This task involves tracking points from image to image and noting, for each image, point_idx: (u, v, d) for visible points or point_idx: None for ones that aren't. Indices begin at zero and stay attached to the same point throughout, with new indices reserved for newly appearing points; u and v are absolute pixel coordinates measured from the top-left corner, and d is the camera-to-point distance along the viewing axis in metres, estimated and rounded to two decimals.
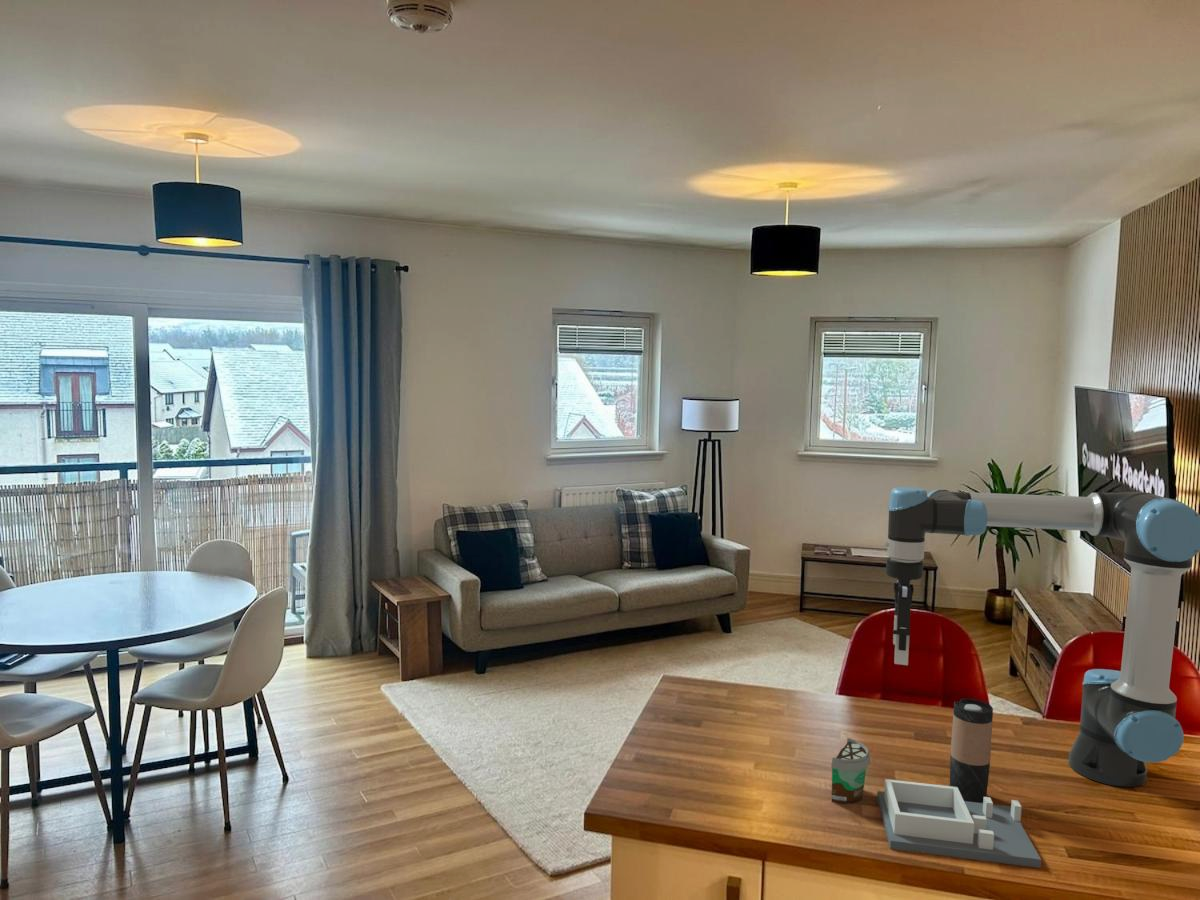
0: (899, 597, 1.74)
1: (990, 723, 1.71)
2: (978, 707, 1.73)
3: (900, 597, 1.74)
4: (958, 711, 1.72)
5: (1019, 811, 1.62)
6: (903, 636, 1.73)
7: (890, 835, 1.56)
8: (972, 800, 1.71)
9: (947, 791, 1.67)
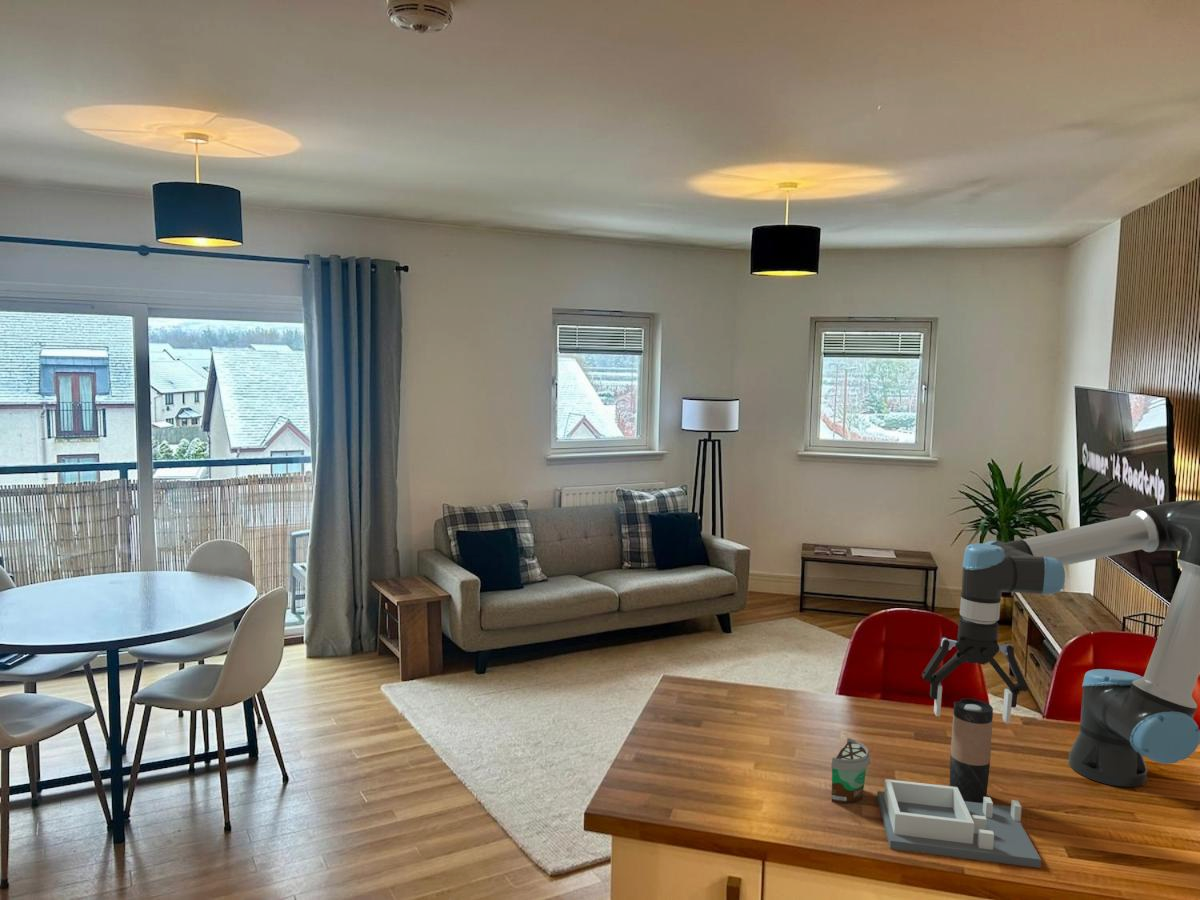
0: None
1: (990, 723, 1.71)
2: (978, 707, 1.73)
3: (940, 646, 1.74)
4: (958, 711, 1.72)
5: (1019, 811, 1.62)
6: (931, 683, 1.74)
7: (890, 835, 1.56)
8: (972, 800, 1.71)
9: (947, 791, 1.67)
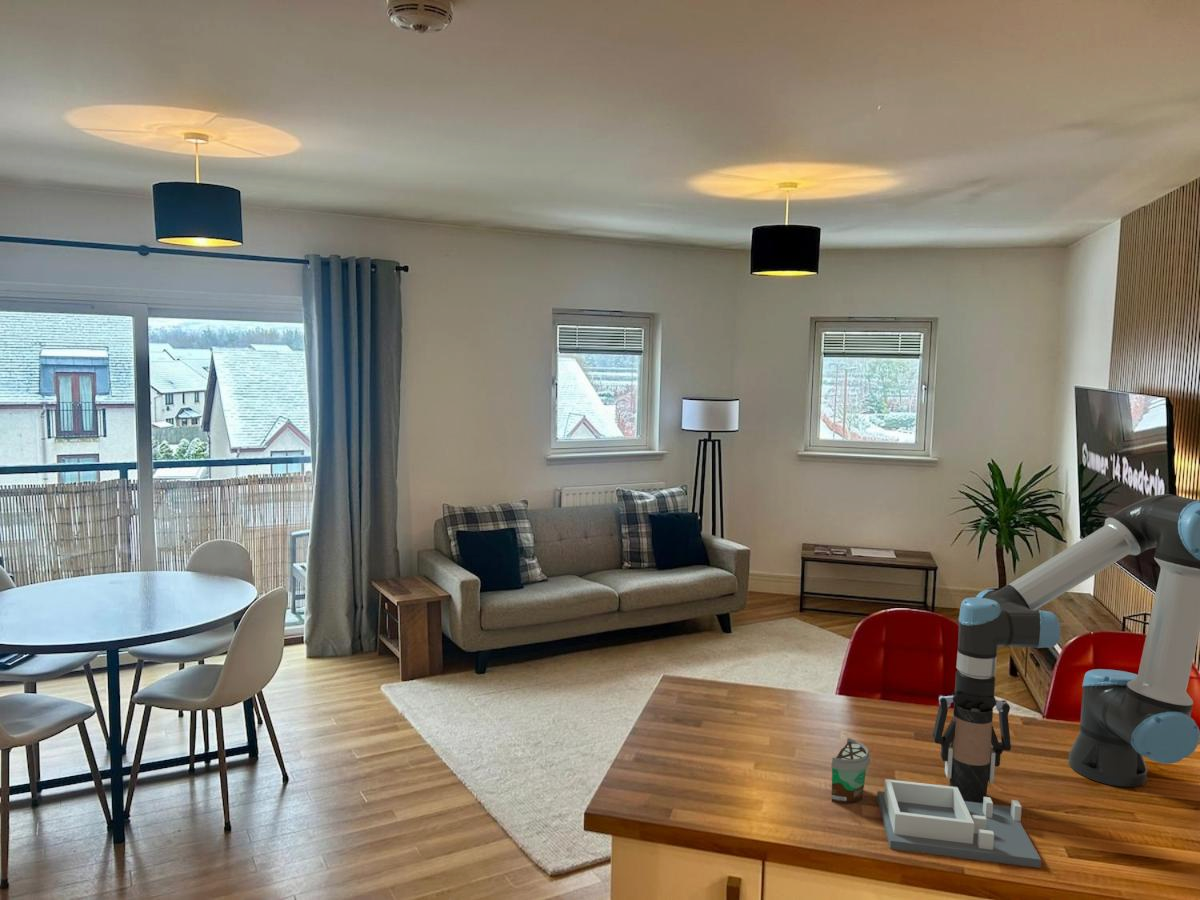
0: (939, 705, 1.75)
1: (990, 723, 1.71)
2: None
3: (939, 705, 1.75)
4: (958, 711, 1.72)
5: (1019, 811, 1.62)
6: (941, 745, 1.75)
7: (890, 835, 1.56)
8: (972, 800, 1.71)
9: (947, 791, 1.67)
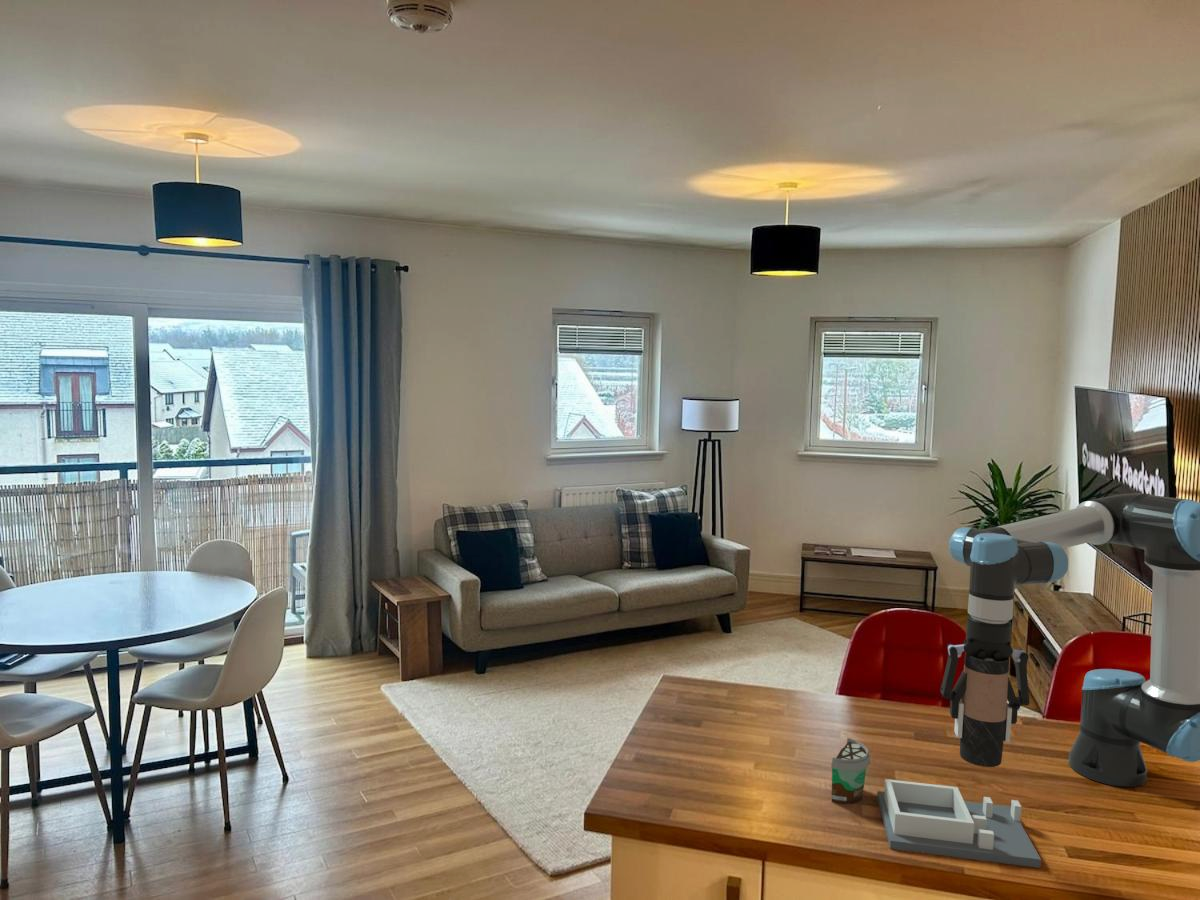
0: (948, 656, 1.55)
1: (1006, 674, 1.51)
2: None
3: (948, 655, 1.55)
4: (970, 661, 1.52)
5: (1019, 811, 1.62)
6: (951, 700, 1.55)
7: (890, 835, 1.56)
8: (986, 761, 1.51)
9: (947, 791, 1.67)
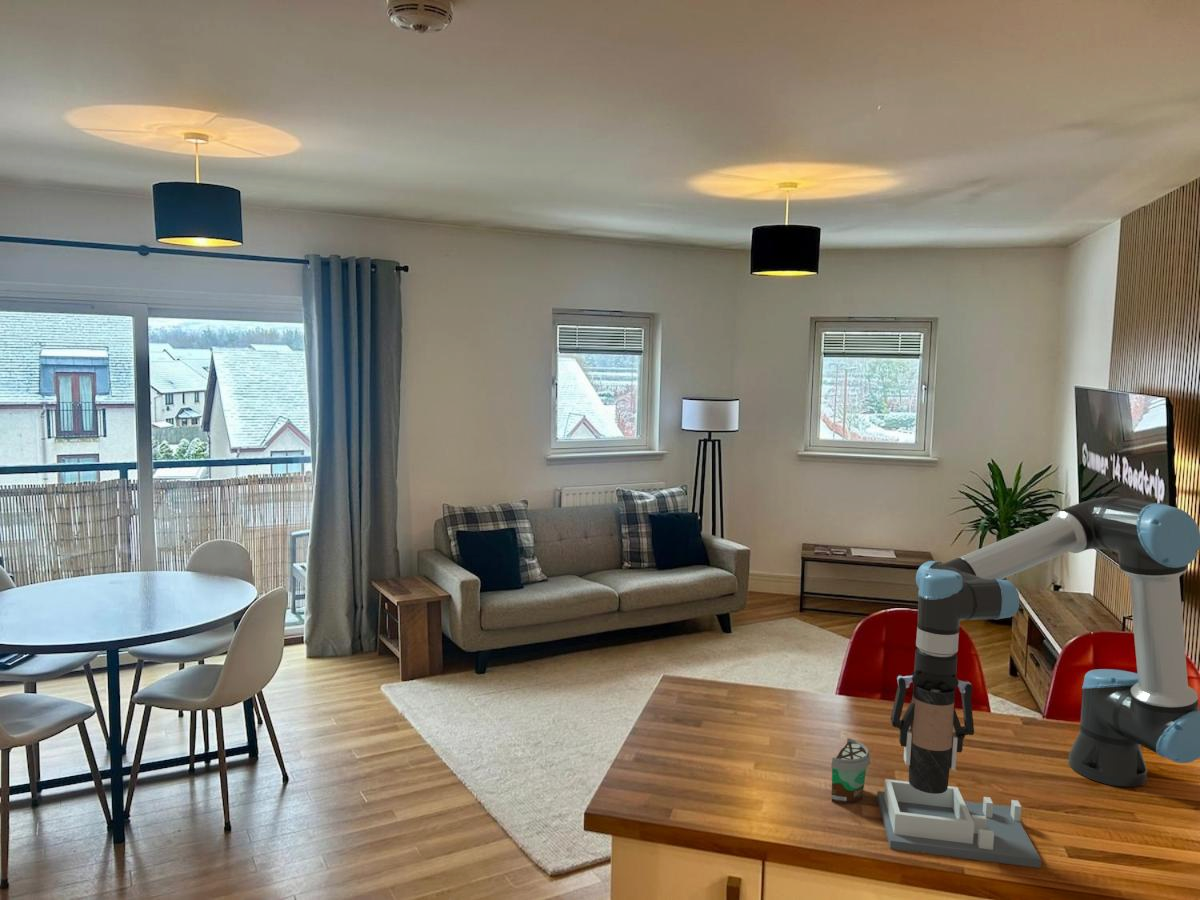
0: (898, 686, 1.62)
1: (951, 705, 1.57)
2: None
3: (898, 686, 1.62)
4: (917, 692, 1.59)
5: (1019, 811, 1.62)
6: (900, 729, 1.62)
7: (890, 835, 1.56)
8: (932, 788, 1.58)
9: (947, 791, 1.67)
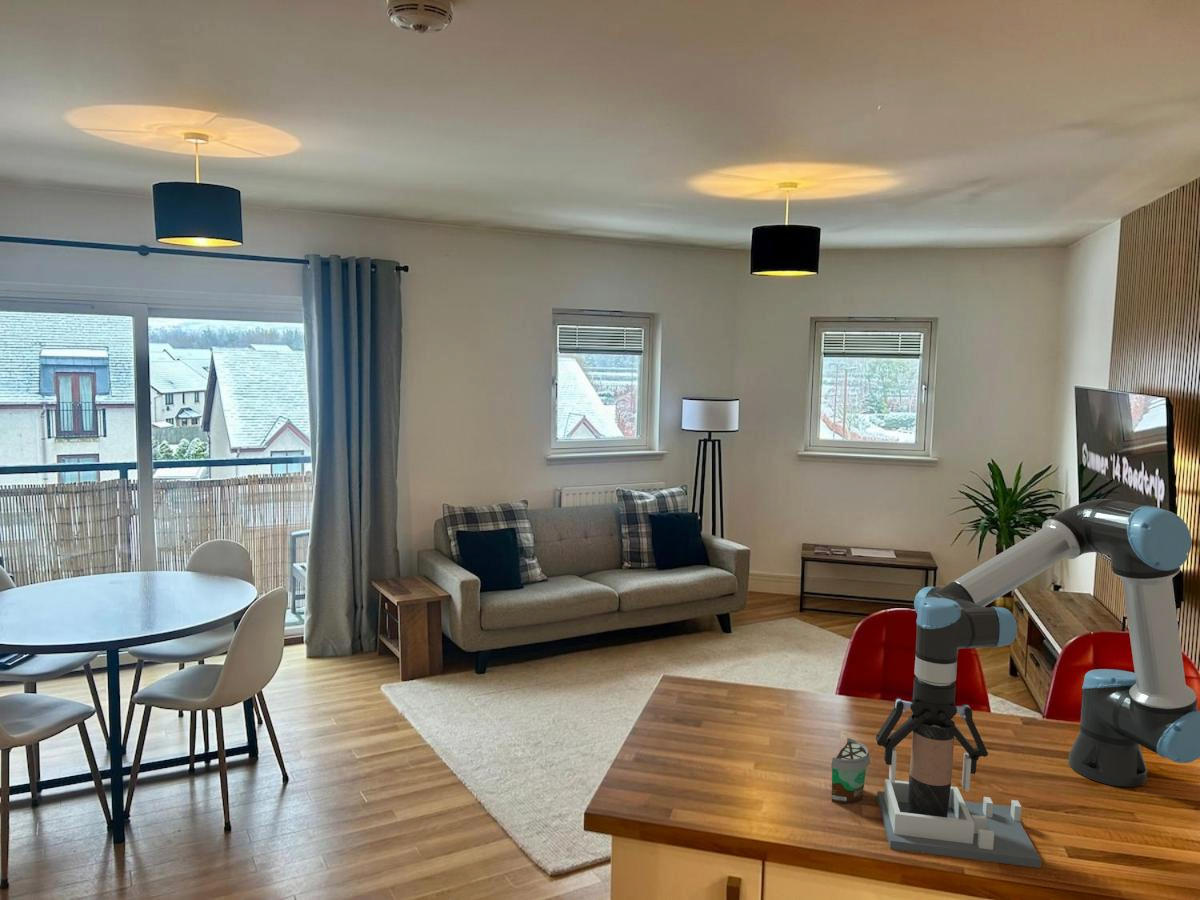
0: (894, 708, 1.63)
1: (951, 740, 1.58)
2: None
3: (894, 708, 1.62)
4: None
5: (1019, 811, 1.62)
6: (885, 747, 1.63)
7: (890, 835, 1.56)
8: None
9: None
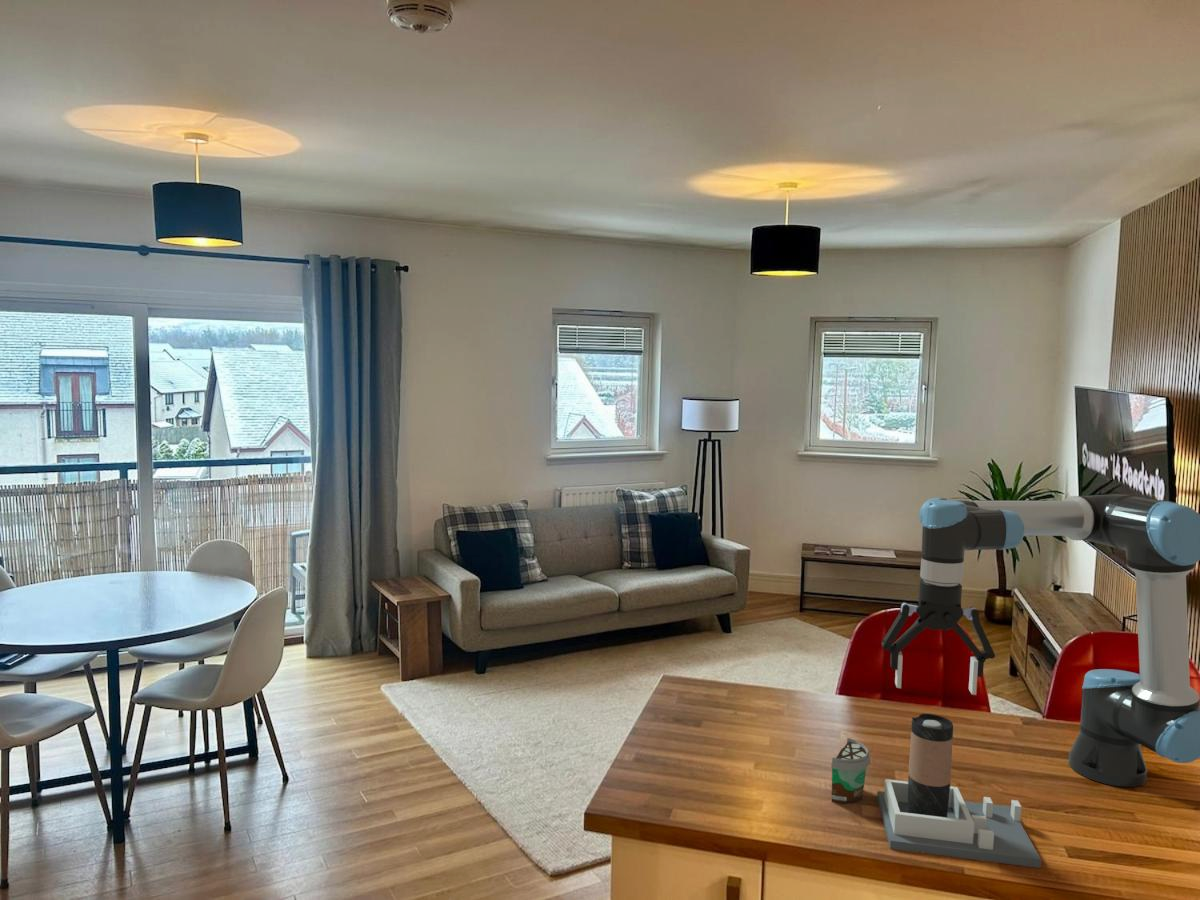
0: None
1: (950, 741, 1.58)
2: (937, 723, 1.60)
3: None
4: (915, 727, 1.60)
5: (1019, 811, 1.62)
6: (891, 652, 1.61)
7: (890, 835, 1.56)
8: None
9: None
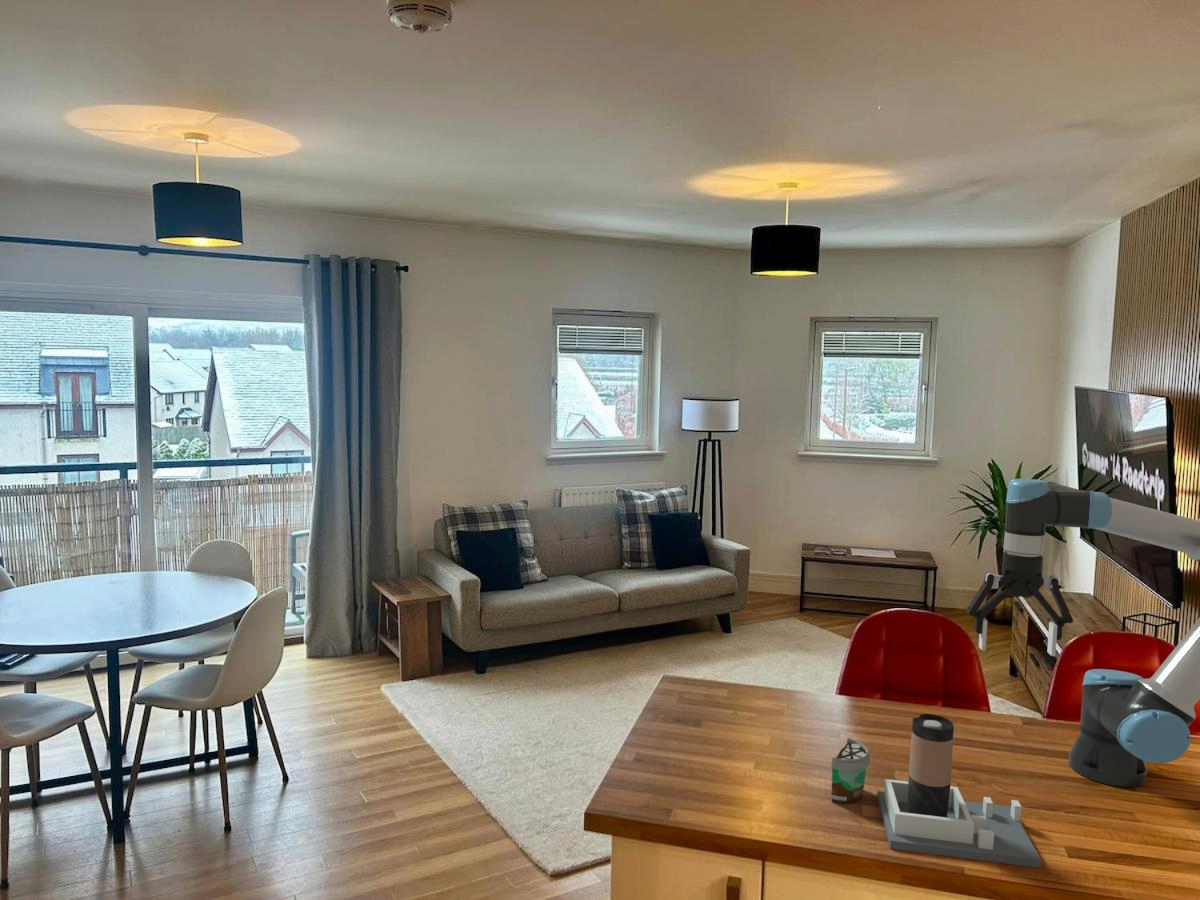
0: (984, 582, 1.76)
1: (950, 741, 1.58)
2: (938, 723, 1.60)
3: (984, 581, 1.76)
4: (916, 727, 1.59)
5: (1019, 811, 1.62)
6: (976, 618, 1.76)
7: (890, 835, 1.56)
8: None
9: None
